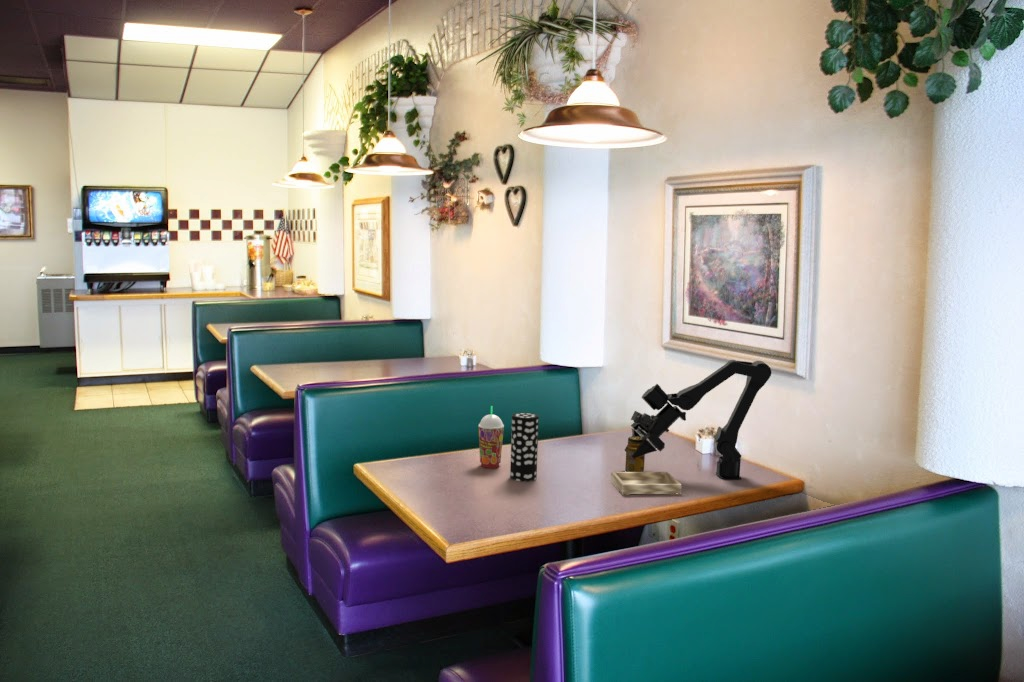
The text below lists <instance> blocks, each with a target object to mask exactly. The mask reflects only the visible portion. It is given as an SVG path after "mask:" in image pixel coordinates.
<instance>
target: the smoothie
mask: <svg viewBox="0 0 1024 682" xmlns="http://www.w3.org/2000/svg"><path fill="white" fill-rule="evenodd" d="M493 408H494V407H493V405H490V414H486V415H484V416H483V417H482V418H481V420H480V422H479V423H478V426H477V427H478V441H479V442H478V445H479V449H478V450H479V463H480V464H481V467H483V468H486V469H494V468H495V469H496V468H499V466H500V463H501V461H502V451H503V438H504V429H505V428H504V427H505V424H504V423H503V421H502V419H501V418H500V417H499V416H498V415H496V414H493V410H494V409H493Z"/></svg>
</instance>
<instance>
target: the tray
mask: <svg viewBox="0 0 1024 682" xmlns="http://www.w3.org/2000/svg"><path fill="white" fill-rule="evenodd" d="M610 475H611V477H610V482H611V483H612V484H613V486H614V485H615V486H616V487H615V488H616V489H617V490H618V492H619V491H620V492H621V493H622V494H621V493H620V492H619V493H620V494H621V495H622V496H630V495H629V494H670V495H681V494H682V484H681V483H680V482H679V481H678V480H677V479H676V478H675V477H674V476H672V475H671V474H670V473H669V472H668V471H644V472H620V471H611V473H610ZM676 493H678V494H676ZM680 493H681V494H680ZM624 494H625V495H624Z"/></svg>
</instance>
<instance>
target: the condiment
mask: <svg viewBox="0 0 1024 682" xmlns="http://www.w3.org/2000/svg"><path fill="white" fill-rule="evenodd" d="M641 443H642V437H637V436H632V435H631V436H628V438H627V445H626V446H627V447H625V448H626V451H625V452H626V453H625V464H624V465H625V469H624V470H620V471H619V472H625V471H626V472H645V459H646V454H645V455H642V456H639V457H636V458H633V457H632V454H633V453H634V452H635V450H636V449H637V448H638V447H639V445H640V444H641Z"/></svg>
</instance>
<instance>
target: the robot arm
mask: <svg viewBox="0 0 1024 682" xmlns="http://www.w3.org/2000/svg"><path fill="white" fill-rule="evenodd" d="M735 374H736V375H741V376H744V377H746V381H745V386H744V388H743V390H742V392H741V394H740V396H739V398H738V400H737V402H736V403H735V406H734V407H733V410H732V412H731V414H730V416H729V419H728V420H727V423H726V424H725V425H724V426H723V427H721V426H718V427H717V430H716V433H715V434H714V435H713V439H714V440H713V445H714V448H715V449H716V451H717V452H718V454H720V455H721V456H718V461H717V462H716V470H715V474H716V475H717V476H718V477H719V478H720V479H722V480H735V479H736V480H741V479H742V476H741V463H742V462H741V461H742V460H741V459H742V455H741V453H740V451H739V449H738V448H736V445H737V441H738V436H739V431H740V428H741V427H742V425H743V422H744V421H745V419H746V416H747V414H748V412H749V410H750V408H751V406H752V404H753V403H754V400H755V398H756V396H757V394H758V393H759V391H760V390H761V389H762V388H763V387H764V386H765V385H766V383H768V381H769V379H770V378H771V375H772V369H771V367H770V366H769V364H767V363H766V362H764V361H763V360H755V361H753V362H752V361H751V362H750V361H745V360H744V361H742V360H736V359H730V360H728V361H727V362H726V363H725V364H724V365H722V366H721V367H719V368H718V369H717V370H715V371H714V372H712V373H711V374H709V375H707V377H705V378H704V379H702V380H700V381H699V382H697V383H696V384H693V385H690V386H687V387H685V388H683V389H681V390H679V391H678V392H675V393H668V394H667V393H666V392H665V391H664V389H662V387H661V385H659V384H658V383H656V384H655V385H653V386H651V388H648V389H647V390H646V391H644V393H643V394H642V396H641V399H642V400H643V401H644V402H645V403H646V404H647V405H648V406H649V407H650V408H651V410H653V411H655V410H657V411H659V412H658V413H657V414H655V415H654V414H653V415H650V414H648V413H646V412H644V413H641V412H639V411H637V410H634V412H633V414H632V416H631V418H630V420H631V421H632V422H633V423H631V425H630V426H631V432H632V434H631V437H632V436H637V437H642V443H641V444H640V445H639V447H638V448H637V449H636V450H635V452H634V453H633V454H632V457H633V458H636V457H639V456H642V455H645V456H646V454H651V453H653V452H657V451H659V452H660V453H661V451H663V450H664V449H665V446H666V445H665V442H664V441H663V440H662V438H660V437H661V436H662V435H663V434H664V433H665V432H666V433H669V431H670V429H669V428H670V427H671V426H672V425H674V423H675V422H676V421H677V420H678V419H679V418H680V420H681V421H684V422H685V421H687V419H686V418H687V417H686V416H687V415H686V414H687V411H690V410H692V409H693V408H695V407H696V406H697V404H698V403H700V402H701V400H702V399H703V397H704V396H706V395H707V394H708V393H709V392H710V391H712V390H714V389H716V387H718V386H719V385H721V384H722V383H724V382H726V380H728V379H729V378H731V377H733V376H734V375H735ZM680 409H681V410H680ZM626 447H627V445H626ZM626 447H625V448H624V451H625V452H626Z"/></svg>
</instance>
